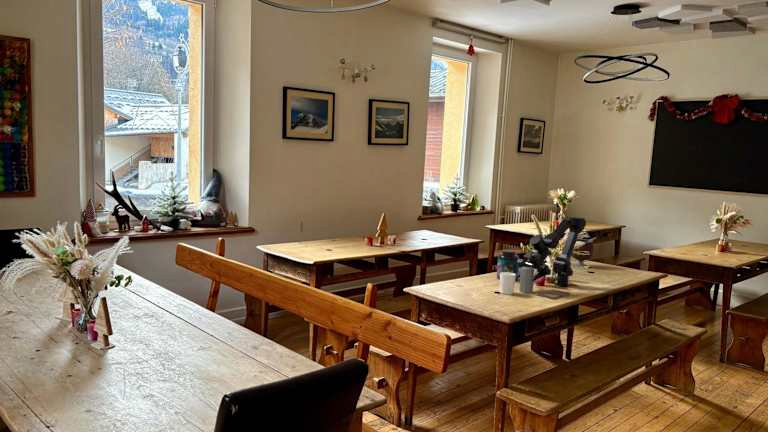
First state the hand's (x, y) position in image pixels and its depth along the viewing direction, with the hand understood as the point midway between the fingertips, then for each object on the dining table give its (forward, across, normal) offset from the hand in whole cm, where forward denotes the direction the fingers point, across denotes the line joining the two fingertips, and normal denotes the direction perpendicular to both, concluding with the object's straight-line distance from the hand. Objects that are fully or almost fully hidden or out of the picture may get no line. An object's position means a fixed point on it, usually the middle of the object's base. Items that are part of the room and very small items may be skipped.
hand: (524, 279), depth 288 cm
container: (-6, -26, +16) cm, 31 cm away
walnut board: (-1, +11, +11) cm, 16 cm away
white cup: (+12, -3, -2) cm, 12 cm away
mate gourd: (-59, -29, +69) cm, 96 cm away
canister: (+4, 0, +6) cm, 7 cm away
